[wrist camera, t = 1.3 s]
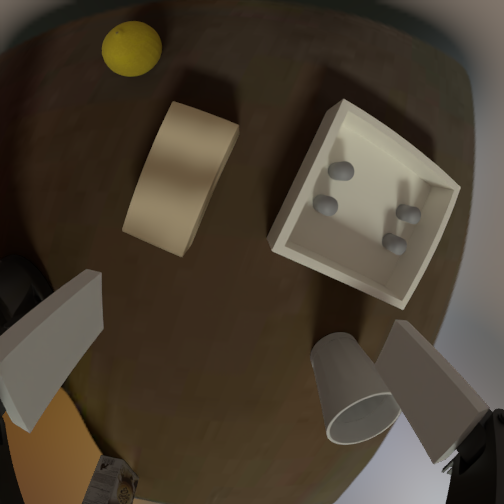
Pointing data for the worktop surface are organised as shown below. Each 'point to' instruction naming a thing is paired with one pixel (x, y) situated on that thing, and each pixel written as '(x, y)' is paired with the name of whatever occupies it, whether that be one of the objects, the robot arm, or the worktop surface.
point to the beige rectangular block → (179, 177)
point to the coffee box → (111, 483)
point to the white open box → (364, 207)
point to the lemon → (131, 48)
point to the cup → (351, 390)
